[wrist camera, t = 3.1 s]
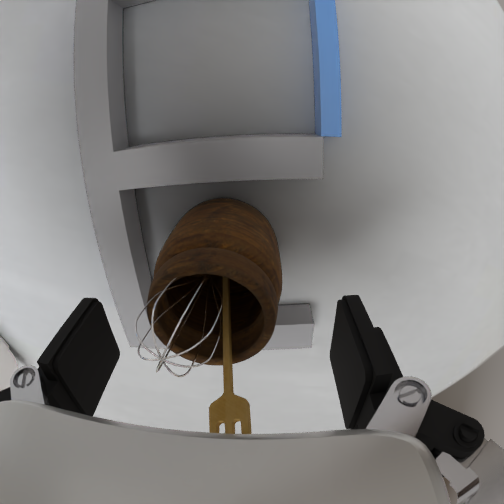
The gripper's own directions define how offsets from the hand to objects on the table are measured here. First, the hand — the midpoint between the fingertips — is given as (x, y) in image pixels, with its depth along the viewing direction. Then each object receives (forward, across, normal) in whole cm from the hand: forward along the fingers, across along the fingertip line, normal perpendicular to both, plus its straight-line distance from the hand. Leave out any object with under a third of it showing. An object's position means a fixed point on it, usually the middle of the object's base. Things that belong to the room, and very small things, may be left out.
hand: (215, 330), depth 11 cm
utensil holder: (+7, 0, 0) cm, 7 cm away
